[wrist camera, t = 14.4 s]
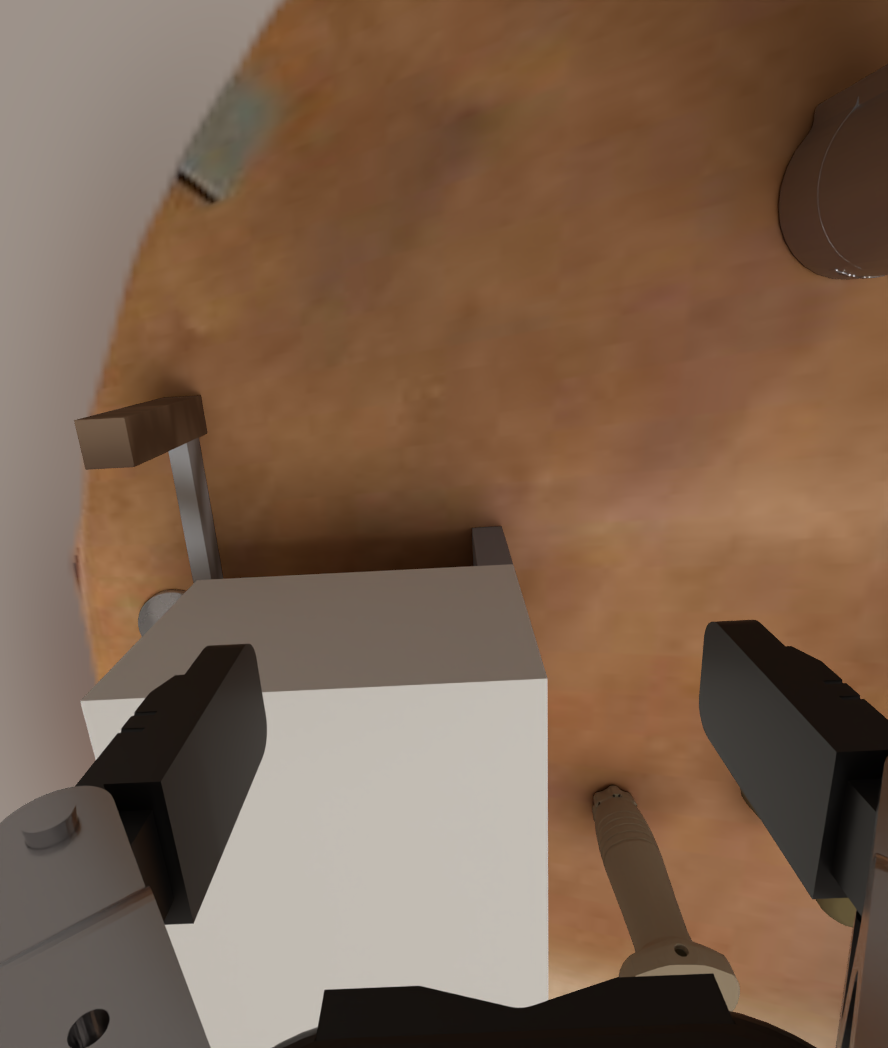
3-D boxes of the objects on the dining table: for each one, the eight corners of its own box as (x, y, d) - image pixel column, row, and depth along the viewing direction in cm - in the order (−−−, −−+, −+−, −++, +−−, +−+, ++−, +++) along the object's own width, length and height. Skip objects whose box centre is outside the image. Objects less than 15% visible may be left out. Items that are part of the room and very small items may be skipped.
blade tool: (163, 397, 39) (74, 420, 30) (200, 395, 39) (124, 417, 30) (218, 692, 46) (160, 789, 36) (251, 691, 46) (201, 787, 36)
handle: (572, 774, 48) (627, 964, 34) (655, 774, 48) (745, 964, 34) (567, 824, 49) (619, 1027, 35) (648, 825, 49) (732, 1027, 35)
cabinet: (221, 540, 42) (54, 702, 24) (501, 526, 42) (547, 678, 24) (262, 784, 48) (154, 1060, 30) (508, 773, 48) (548, 1044, 30)
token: (139, 588, 44) (132, 594, 43) (210, 586, 43) (205, 592, 43) (151, 651, 45) (144, 658, 44) (219, 650, 45) (215, 657, 44)
